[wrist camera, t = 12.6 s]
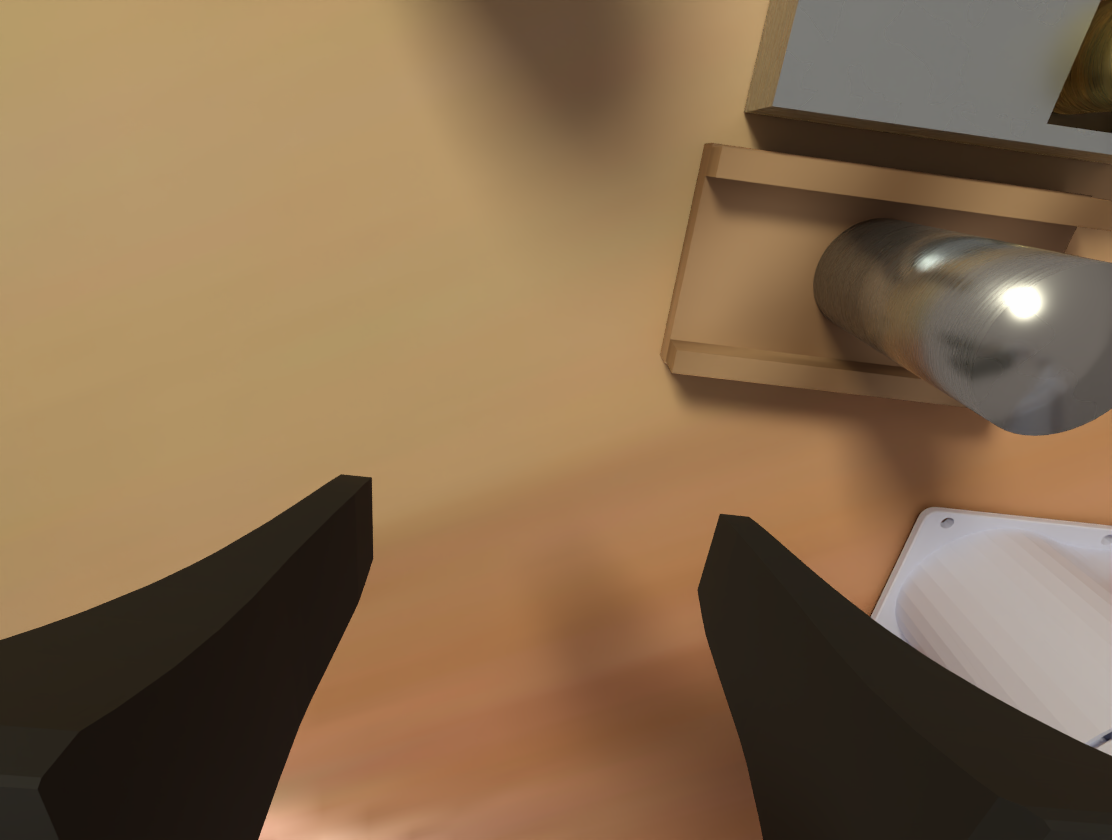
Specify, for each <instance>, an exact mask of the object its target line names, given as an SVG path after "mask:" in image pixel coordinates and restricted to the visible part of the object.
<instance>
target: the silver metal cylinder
mask: <svg viewBox="0 0 1112 840" xmlns="http://www.w3.org/2000/svg"><path fill="white" fill-rule="evenodd" d="M813 292H814V298H815V301H816V304H817V306H818V308H819V310H820V311H821V313H822V314H823V315H824V316H825V317H826V318H827V319H828V320H829V321H830V322H832V323H833V324H835V325H837V326H838V327H840V328H841V329H843V330H845V331H846V332H848V333H849V334H851V335H853V336H854V337H856V338H857V339H859V340H861V341H862V342H864V343H865V344H867V345H869V346H870V347H872V348H873V349H875V350H876V351H878V352H880V353H881V354H883V355H884V356H886V357H888V358H889V359H891V360H892V361H894V362H896V363H897V364H899V365H900V366H902V367H904V368H905V369H907V370H908V371H910V372H912V373H913V374H915V375H916V376H918V377H920V378H921V379H923V380H924V381H926V382H928V383H929V384H931V385H932V386H934V387H936V388H937V389H939V390H940V391H942V392H944V393H945V394H947V395H948V396H950V397H951V398H953V399H955V400H956V401H958V402H959V403H961V404H963V405H964V406H966V407H967V408H969V409H971V410H972V411H974V412H975V413H977V414H979V415H980V416H982V417H983V418H985V419H987V420H988V421H990V422H991V423H993V424H995V425H996V426H998V427H1000V428H1002V429H1004V430H1006V431H1009V432H1012V433H1016V434H1022V435H1033V436H1038V435H1049V434H1055V433H1060V432H1064V431H1067V430H1071V429H1074V428H1076V427H1079V426H1081V425H1084V424H1086V423H1088V422H1090V421H1092V420H1094V419H1096V418H1098V417H1099V416H1101V415H1103V414H1104V413H1106V412H1107V411H1109V410H1110V409H1112V263H1109V262H1104V261H1099V260H1094V259H1089V258H1084V257H1079V256H1074V255H1069V254H1064V253H1059V252H1054V251H1049V250H1044V249H1039V248H1034V247H1029V246H1024V245H1019V244H1014V243H1010V242H1005V241H1000V240H995V239H990V238H985V237H980V236H975V235H970V234H965V233H960V232H955V231H950V230H945V229H940V228H935V227H930V226H925V225H920V224H915V223H910V222H905V221H900V220H895V219H890V218H874V219H870V220H866V221H863V222H860V223H857V224H855V225H853V226H851V227H850V228H848V229H846V230H845V231H843V232H842V233H841V234H840V235H838V236H837V237H836V238H835V239H834V240H833V241H832V242H831V243H830V245H829V246H828V247H827V248H826V250H825V251H824V253H823V254H822V256H821V258H820V260H819V262H818V265H817V267H816V270H815V274H814V280H813Z"/></svg>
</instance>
